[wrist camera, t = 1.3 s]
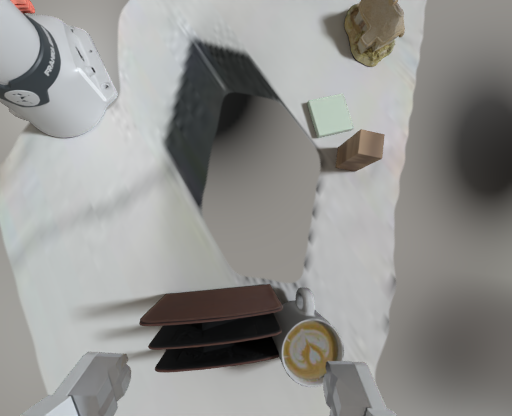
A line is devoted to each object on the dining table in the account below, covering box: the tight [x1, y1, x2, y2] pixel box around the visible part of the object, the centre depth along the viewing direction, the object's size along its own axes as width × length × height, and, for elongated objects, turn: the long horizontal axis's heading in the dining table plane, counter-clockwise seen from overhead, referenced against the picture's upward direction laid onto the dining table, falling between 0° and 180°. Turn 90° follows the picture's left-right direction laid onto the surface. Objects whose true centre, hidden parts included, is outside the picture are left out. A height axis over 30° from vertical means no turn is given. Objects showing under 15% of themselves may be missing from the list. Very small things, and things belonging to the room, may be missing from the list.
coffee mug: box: [272, 288, 344, 387], centre depth 41 cm, size 13×10×10 cm
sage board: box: [307, 94, 354, 138], centre depth 51 cm, size 8×8×1 cm
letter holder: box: [140, 284, 283, 372], centre depth 37 cm, size 10×20×14 cm, turn 94°
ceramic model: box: [344, 0, 405, 67], centre depth 50 cm, size 14×11×10 cm
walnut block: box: [336, 129, 384, 171], centre depth 46 cm, size 4×4×9 cm
